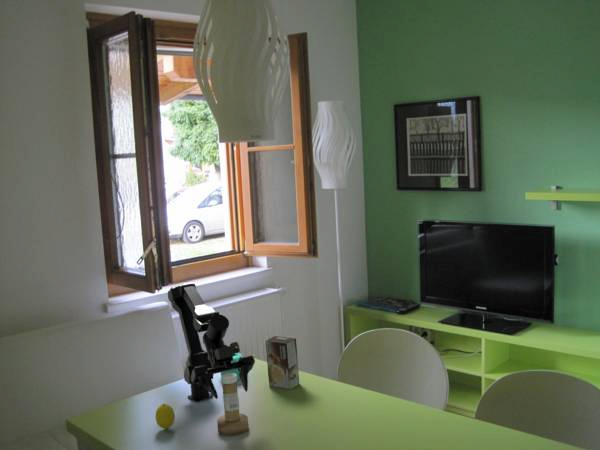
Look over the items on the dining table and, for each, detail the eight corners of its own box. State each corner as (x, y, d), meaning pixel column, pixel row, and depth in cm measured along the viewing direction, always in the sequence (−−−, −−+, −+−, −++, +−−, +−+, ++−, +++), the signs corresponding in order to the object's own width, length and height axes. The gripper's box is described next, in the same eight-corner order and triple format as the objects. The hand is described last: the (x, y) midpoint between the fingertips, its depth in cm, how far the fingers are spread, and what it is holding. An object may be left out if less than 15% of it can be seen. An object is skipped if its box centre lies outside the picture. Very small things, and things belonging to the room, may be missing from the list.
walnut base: (212, 429, 198) (211, 419, 197) (237, 420, 203) (236, 410, 203) (228, 438, 191) (227, 428, 190) (254, 428, 196) (253, 419, 196)
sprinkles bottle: (240, 415, 199) (236, 371, 198) (240, 421, 195) (236, 376, 193) (224, 416, 199) (221, 373, 197) (224, 423, 194) (220, 378, 193)
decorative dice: (244, 379, 237) (243, 358, 236) (222, 382, 236) (220, 360, 235) (242, 372, 245) (240, 351, 244) (220, 375, 244) (218, 354, 243)
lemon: (171, 433, 197) (169, 407, 196) (153, 433, 198) (151, 407, 197) (178, 425, 202) (176, 400, 201) (161, 425, 203) (158, 399, 202)
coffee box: (300, 383, 230) (297, 338, 228) (290, 389, 225) (287, 343, 223) (278, 379, 235) (274, 335, 233) (267, 386, 230) (264, 340, 228)
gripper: (190, 340, 193) (206, 389, 184) (250, 328, 201) (268, 374, 193) (184, 359, 201) (199, 406, 192) (242, 347, 209) (259, 392, 201)
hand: (232, 394), depth 194 cm, fingers open, 9 cm apart
